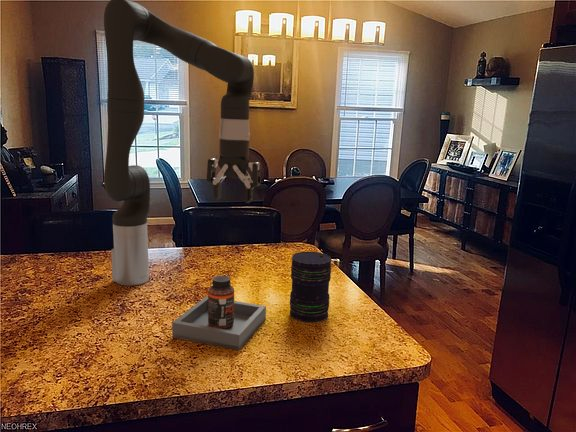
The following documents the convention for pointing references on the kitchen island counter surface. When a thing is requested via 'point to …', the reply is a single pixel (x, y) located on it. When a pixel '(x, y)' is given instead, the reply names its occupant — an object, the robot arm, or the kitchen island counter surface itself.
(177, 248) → the kitchen island counter surface
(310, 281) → the dark cylinder
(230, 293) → the supplement bottle
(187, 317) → the tray
